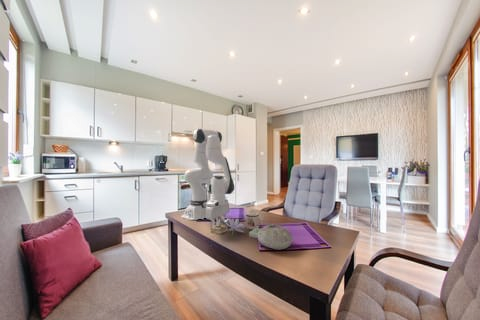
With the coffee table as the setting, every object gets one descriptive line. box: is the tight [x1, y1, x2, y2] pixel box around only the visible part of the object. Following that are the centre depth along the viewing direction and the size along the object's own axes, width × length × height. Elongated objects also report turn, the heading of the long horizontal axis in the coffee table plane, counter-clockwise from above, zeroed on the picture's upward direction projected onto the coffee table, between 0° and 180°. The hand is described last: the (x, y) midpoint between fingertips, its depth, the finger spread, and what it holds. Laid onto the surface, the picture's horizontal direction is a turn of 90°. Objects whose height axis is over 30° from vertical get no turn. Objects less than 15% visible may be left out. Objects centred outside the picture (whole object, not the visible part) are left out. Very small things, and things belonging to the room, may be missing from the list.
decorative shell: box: [257, 223, 293, 251], centre depth 102 cm, size 18×18×10 cm
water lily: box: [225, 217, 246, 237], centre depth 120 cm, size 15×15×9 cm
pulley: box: [223, 218, 235, 229], centre depth 133 cm, size 7×7×5 cm
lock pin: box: [216, 216, 222, 228], centre depth 125 cm, size 4×4×10 cm
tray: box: [248, 227, 261, 239], centre depth 117 cm, size 9×9×2 cm
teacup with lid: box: [245, 209, 263, 230], centre depth 132 cm, size 12×9×12 cm
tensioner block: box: [210, 224, 227, 235], centre depth 125 cm, size 7×7×3 cm
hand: (218, 223), depth 125 cm, fingers open, 8 cm apart
